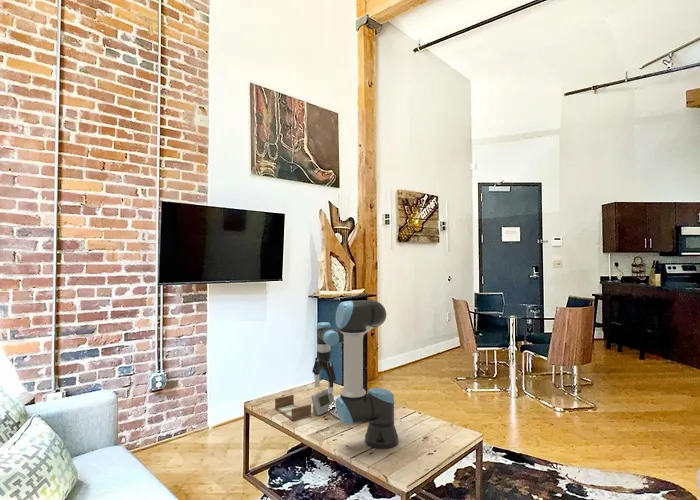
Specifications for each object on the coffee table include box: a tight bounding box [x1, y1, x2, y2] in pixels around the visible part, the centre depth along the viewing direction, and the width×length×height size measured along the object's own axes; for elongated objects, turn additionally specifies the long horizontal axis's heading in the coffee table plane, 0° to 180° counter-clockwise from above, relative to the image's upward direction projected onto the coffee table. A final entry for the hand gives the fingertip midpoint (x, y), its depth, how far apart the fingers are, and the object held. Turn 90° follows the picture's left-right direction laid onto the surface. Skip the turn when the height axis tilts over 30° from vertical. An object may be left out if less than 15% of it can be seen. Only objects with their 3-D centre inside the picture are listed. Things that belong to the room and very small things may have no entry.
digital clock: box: [311, 388, 336, 417], centre depth 224 cm, size 16×9×11 cm, turn 134°
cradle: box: [274, 394, 312, 422], centre depth 222 cm, size 20×11×6 cm, turn 36°
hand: (323, 389), depth 225 cm, fingers open, 13 cm apart
